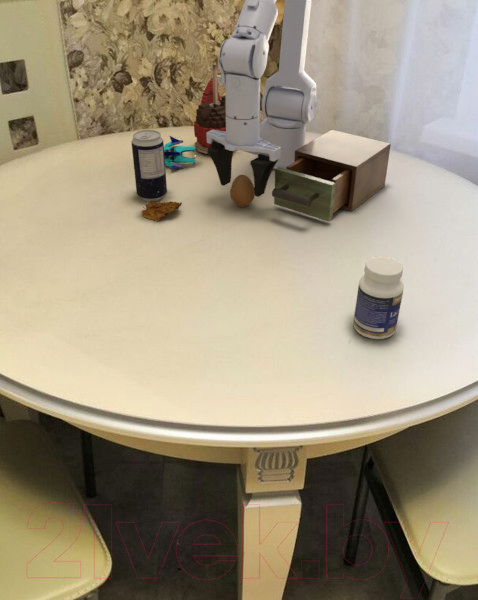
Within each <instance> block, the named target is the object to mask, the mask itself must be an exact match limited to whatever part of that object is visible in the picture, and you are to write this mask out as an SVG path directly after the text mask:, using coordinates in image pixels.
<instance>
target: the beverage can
mask: <svg viewBox="0 0 478 600" xmlns="http://www.w3.org/2000/svg"><path fill="white" fill-rule="evenodd" d="M130 143H131V151H132V161H133V170H134V180H135V189H136V195H137V196H138V197H139V198H141V200H143V201H146V202H156V201H157V202H158V201H160V200H162V199H163V198H164V196H165V195H167V194H168V185H167V171H166V165H165V156H164V146H165V144H164V139H163V137H162V134H161V132H160V131H158V130H154V129H142V130H138V131H136V132H134V133H133V134H132V140H131V142H130Z"/></svg>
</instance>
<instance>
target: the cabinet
mask: <svg viewBox="0 0 478 600" xmlns="http://www.w3.org/2000/svg"><path fill="white" fill-rule="evenodd" d="M391 145H392V144H391V143H390V142H385V141H381V140H377V139H372V138H369V137H364V136H360V135H356V134H351V133H347V132H343V131H338V130H336V129H335V130H334V129H330V130H328V131H327V132H325V133H324V134H322V135H320V136H318V137H316V138H315V139H312V140H311V141H309V142H308V143H305V145H304V146H302V147H301V148H299V149H297V150H295V160H294V162H295V161H297V160H298V159H300V158H302V157H306V158H309V159H313V160H317V161H321V162H324V163H328V164H332V165H335V166H339V167H343V168H347V169H350V170H352V178H351V187H350V196H349V202H347V203H346V204H345V205H343V206H342V207H341V208H340V209H342V210H346V211H348V212H353V211H355V210H356V209H357V208H358V207H359V206H361V205H363V203H365V202H367V200H369V199H370V198H371V197H372V196H374V195H375V194H376V193H378V192H379V191H381V190H382V189H383V188H384V187H385V186H386V179H387V174H388V165H389V158H390V152H391V147H392V146H391Z"/></svg>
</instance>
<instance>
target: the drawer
mask: <svg viewBox="0 0 478 600" xmlns="http://www.w3.org/2000/svg"><path fill="white" fill-rule="evenodd" d="M351 178H352V170H350V169H347V168H343V167H339V166H335V165H332V164H328V163H324V162H321V161H317V160H313V159H309V158H306V157H302V158H300V159H298V160H297V161H295V162H293V163H292V164H290V165H288V166H287V167H286V169H285V168H281V167H278V168H276V169H274V187H273V189H272V191H271V196H272V197H273V205H275V206H278V207H282V208H285V209H288V210H291V211H294V212H298V213H301V214H304V215H306V216H310V217H313V218H316V219H320V220H322V221H326V222H331V221H332V220H333V217H334V216H333V215H334V213H336V212H337V211H338V210H339V209H342V208H341V207H342V206H343V205H345V204H346V203H347V202H349V196H350V187H351Z"/></svg>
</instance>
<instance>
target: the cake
mask: <svg viewBox="0 0 478 600" xmlns="http://www.w3.org/2000/svg"><path fill="white" fill-rule="evenodd" d="M211 65H212V66H211V67H212V70H211V71H212V77H210V79H209V80H208V82H207V84H206V86H205V88H204V90H203V92H202V96H201V99H200V104H198V108H196V111H195V112H196V115H195V121H193V132H194V137H195V138H196V141H195V142H194V146H195V150H197V152H199V153H202V154H206V155H207V154H208V153H207V149H208V148H210V147H211V145H212V144H209V143H207V134H206V133H207V132H209V131H211V130H218V131H225V132H226V94H225V95H222V96H221V95H220V92H219V85H223V83H222V74H221V75H220V74H218V64H217V63H212V64H211ZM208 155H209V154H208Z"/></svg>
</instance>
